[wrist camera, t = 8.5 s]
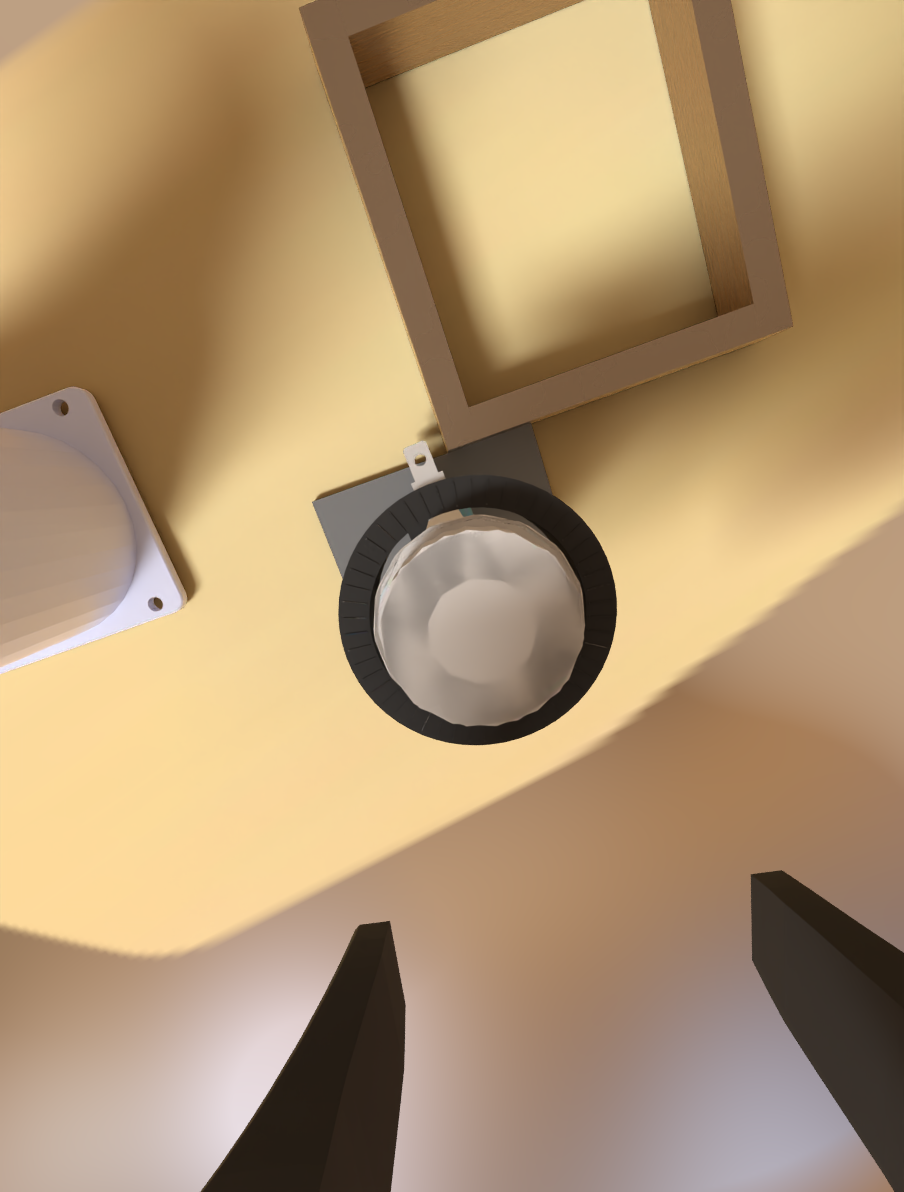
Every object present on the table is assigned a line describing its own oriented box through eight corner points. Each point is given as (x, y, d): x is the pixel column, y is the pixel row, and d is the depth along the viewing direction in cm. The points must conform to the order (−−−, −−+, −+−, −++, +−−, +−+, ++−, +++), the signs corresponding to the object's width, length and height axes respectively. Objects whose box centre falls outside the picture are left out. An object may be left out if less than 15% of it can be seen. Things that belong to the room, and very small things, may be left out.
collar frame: (447, 453, 19) (448, 450, 17) (316, 65, 16) (298, 7, 14) (754, 342, 18) (793, 326, 16) (667, -77, 15) (700, -157, 14)
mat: (384, 678, 20) (383, 680, 20) (313, 501, 19) (311, 501, 18) (585, 609, 20) (587, 611, 20) (529, 424, 18) (531, 423, 18)
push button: (346, 475, 18) (238, 470, 9) (490, 416, 18) (550, 338, 8) (420, 647, 20) (399, 811, 10) (555, 594, 19) (672, 710, 10)
